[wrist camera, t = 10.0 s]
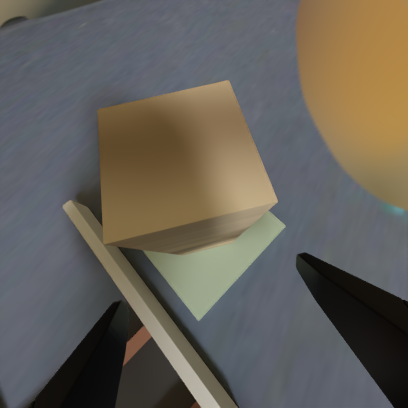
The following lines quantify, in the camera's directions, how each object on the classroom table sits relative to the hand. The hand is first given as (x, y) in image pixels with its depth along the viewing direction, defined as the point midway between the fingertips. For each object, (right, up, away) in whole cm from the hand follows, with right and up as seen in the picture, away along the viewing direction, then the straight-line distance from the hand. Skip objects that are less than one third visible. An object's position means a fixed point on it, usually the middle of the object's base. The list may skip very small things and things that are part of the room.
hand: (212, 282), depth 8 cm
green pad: (-1, +1, +10) cm, 10 cm away
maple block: (-1, +2, +9) cm, 9 cm away
